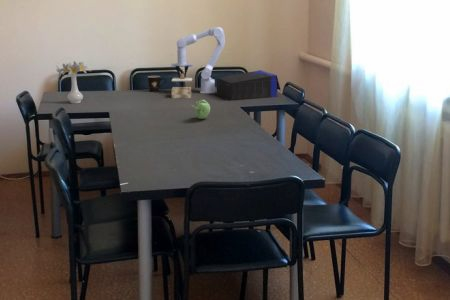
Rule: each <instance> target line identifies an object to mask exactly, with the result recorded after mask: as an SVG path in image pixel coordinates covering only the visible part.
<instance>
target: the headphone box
mask: <svg viewBox="0 0 450 300" xmlns="http://www.w3.org/2000/svg"><path fill="white" fill-rule="evenodd" d="M279 82H280V81H279V78H278V76H277V74H274V73H271V72H268V71H264V70H261V69H260V70H254V71H249V72H242V73H236V74H235V73H234V74H231V75H225V76H219V77H216V95H218V96H219V97H221V98H224V99H226V100H228V101H230V102H232V101H245V100H255V99H269V98H277V97H278V96H277V95H278V93H277V92H278V91H281V89H282V88H281V85H280V83H279Z"/></svg>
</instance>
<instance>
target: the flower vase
mask: <svg viewBox="0 0 450 300" xmlns="http://www.w3.org/2000/svg"><path fill="white" fill-rule="evenodd" d="M72 63H73V64H72ZM55 67H56V72H57V73H58V77H59V78H60V77H61V76H63V75H65V74H66V73H68V74H67V75H68V76H70V77H71V80H70V81H71V90H70V92H69V93H68V94H67V97H66V98H67V100H68V101H70V103H71V104H79V103H82V102H81V101H82V100H83V98H84V95H83V93H82V92H81V91H79V88H78V81H77V77H78V73H79V72H83V73H85V74H87V71H86V70H87V69H88V66H87V65H84V62H83V61H81V62H78V63H77V62H76V61H72V62H71V61H69V63H62V68H60V67H59V66H58V65H55Z"/></svg>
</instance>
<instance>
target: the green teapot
mask: <svg viewBox="0 0 450 300" xmlns="http://www.w3.org/2000/svg"><path fill="white" fill-rule="evenodd" d="M190 106H191V108H194V109H195V110H194V112H195V115H196V117H197V118H198V119H199V120H204V119H205V118H207V117H208V116H209V114H210V112H211V105H210V104H209V102H208V101H206V100H205V99H200V100H198V101H196V106H195V105H192V104H191V105H190Z"/></svg>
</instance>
